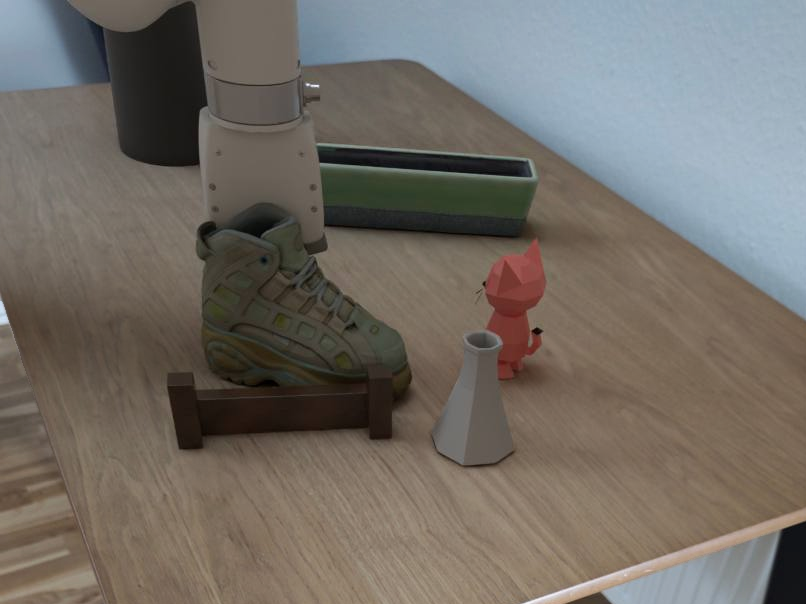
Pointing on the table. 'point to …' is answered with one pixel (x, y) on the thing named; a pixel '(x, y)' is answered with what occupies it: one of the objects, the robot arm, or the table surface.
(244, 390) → the wooden hurdle
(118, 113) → the vase
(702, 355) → the table surface
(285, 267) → the sneaker
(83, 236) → the table surface
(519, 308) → the cat figurine
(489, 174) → the planter
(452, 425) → the flask
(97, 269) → the table surface
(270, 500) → the table surface
